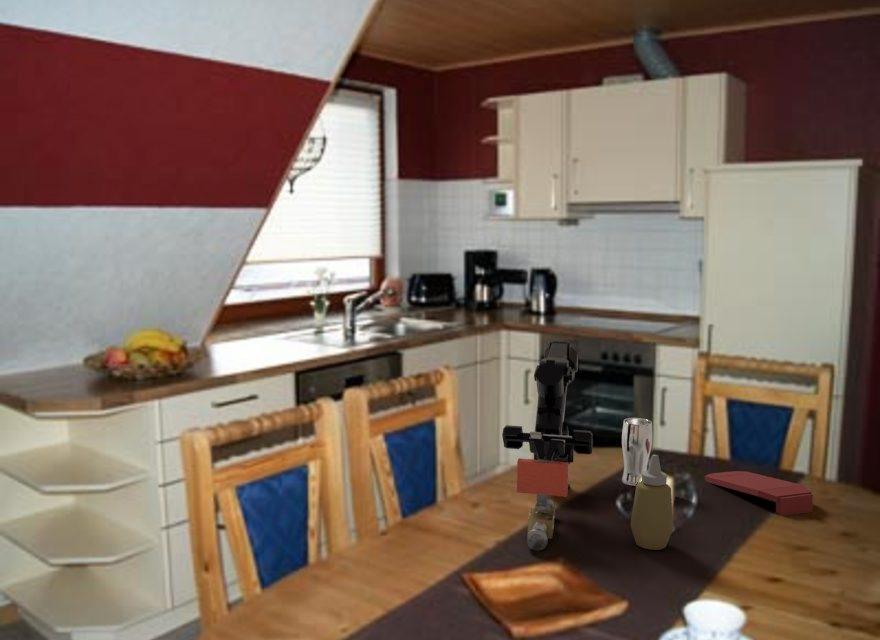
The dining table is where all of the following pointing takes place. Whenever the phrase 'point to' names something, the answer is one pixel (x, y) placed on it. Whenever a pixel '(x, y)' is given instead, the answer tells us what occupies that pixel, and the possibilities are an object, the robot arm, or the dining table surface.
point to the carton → (767, 490)
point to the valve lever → (542, 480)
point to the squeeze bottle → (652, 509)
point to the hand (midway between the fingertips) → (544, 476)
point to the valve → (540, 527)
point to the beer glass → (635, 448)
